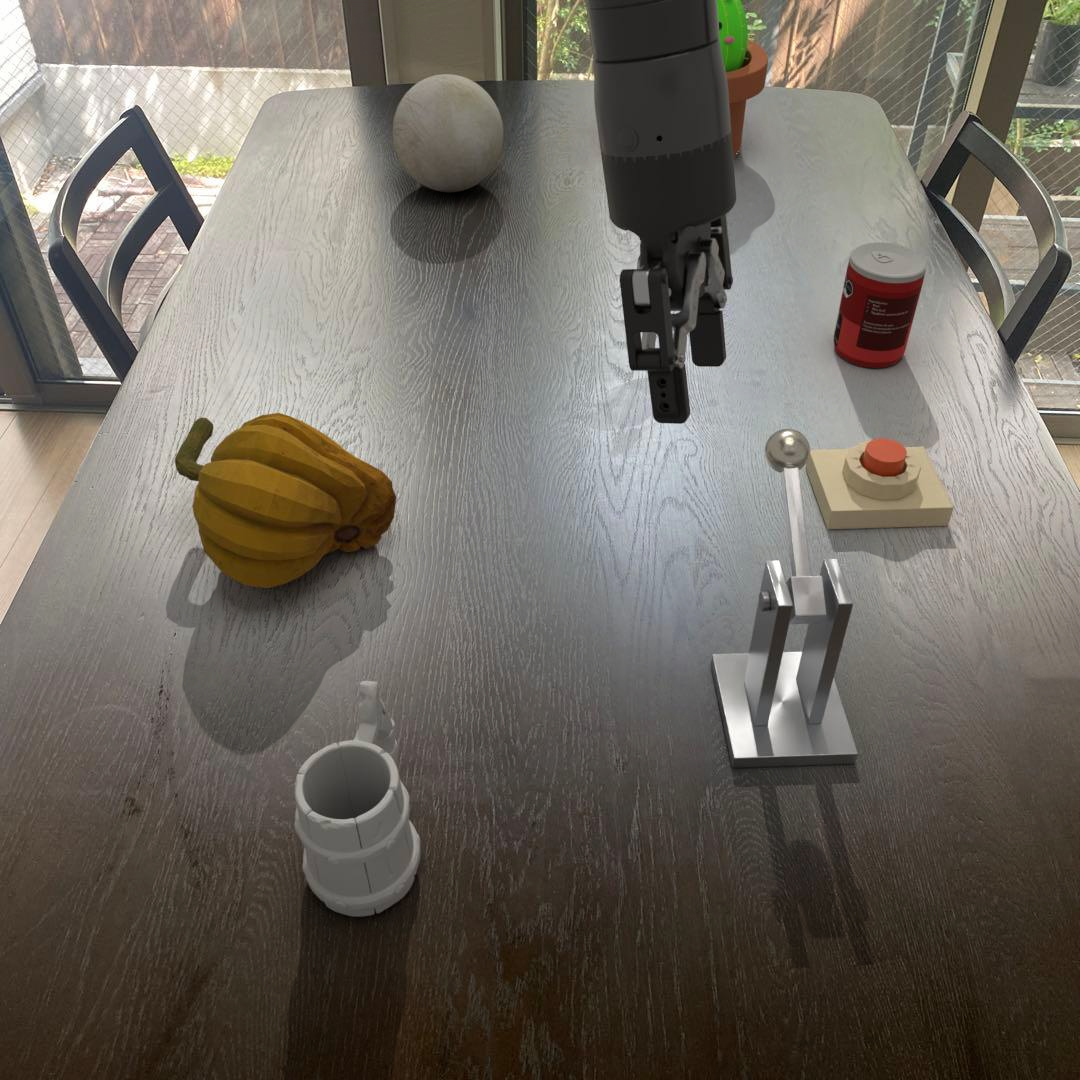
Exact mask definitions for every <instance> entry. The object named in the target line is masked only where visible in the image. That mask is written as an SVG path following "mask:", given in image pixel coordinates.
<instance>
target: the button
mask: <svg viewBox="0 0 1080 1080" xmlns="http://www.w3.org/2000/svg"><path fill="white" fill-rule="evenodd" d="M869 441H870V442H868V443H867V445H866V448H865V452H864V457H863V461H862V464H863V467H864V468H865V469H866V470H867V471H869V472H870V473H872V474H875V475H879V476H882V477H894V476H897V475H899V474H900V473H901V472H902V470H903V467H904V463H905V459H906V456H907V451H906V449H905V447H906V446H904V445H903V444H902V443H901V442H899V441H896V440H894V439H891V438H885V437H884V438H883V437H880V438H874V439H871V440H869Z"/></svg>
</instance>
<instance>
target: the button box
mask: <svg viewBox="0 0 1080 1080" xmlns="http://www.w3.org/2000/svg"><path fill="white" fill-rule="evenodd" d="M870 441H871V440H864V441H862V442H860V443H857V444H855V445H853V446H851V447H850V448H834V449H833V448H832V449H831V448H830V449H827V448H826V449H810V457H809V460H808V462H807V463H806V465H805V470H806V473H807V476H808V479H809V481H810V484H811V487H812V490H813V492H814V496H815V498H816V501H817V505H818V507H819V510H820V513H821V515H822V518H823V521H824V523H825V527H826V529H827V530H851V529H854V530H855V529H885V528H886V529H888V528H913V527H914V528H917V527H919V528H921V527H948V526H949V524H950V520H951V517H952V515H953V513H954V509H955V507H954V505H953V502H952V501H951V498H950V497H949V494H948V492H947V491H946V489H945V486H944V485H943V482H942V480H941V479H940V476H939V475H938V473H937V471H936V468H935V467H934V465H933V463H932V461H931V459H930V457H929V454H928V453H927V451H926V449H925V446H904V447H905V449H906V451H907V456H906V459H905V463H904V467H903V470H902V472H901V473H900V474H899V475H897V476H894V477H882V476H879V475H875V474H872V473H870V472H869V471H867V470H866V469H865V468H864V467H863V464H862V461H863V457H864V452H865V448H866V445H867V443H868V442H870Z"/></svg>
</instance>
